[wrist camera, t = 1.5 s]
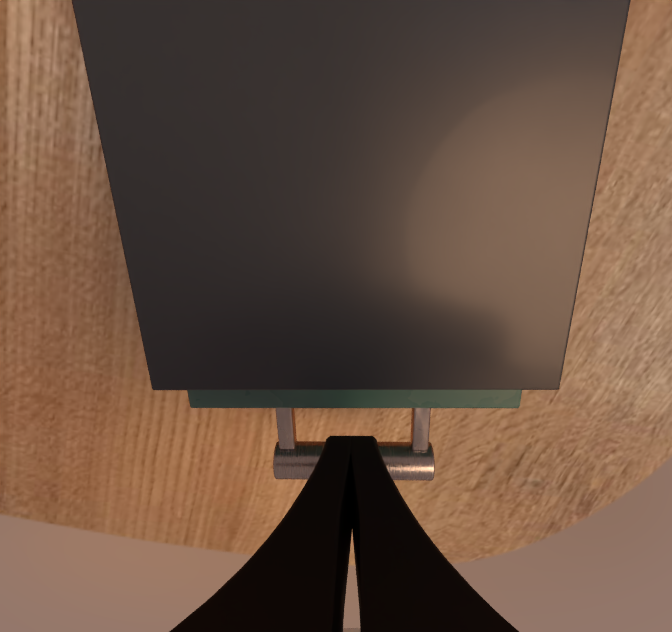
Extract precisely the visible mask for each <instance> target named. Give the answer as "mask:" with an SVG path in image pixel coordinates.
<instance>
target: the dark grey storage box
mask: <svg viewBox="0 0 672 632" xmlns="http://www.w3.org/2000/svg"><path fill="white" fill-rule="evenodd" d="M72 4H73V8H74V13H75V18H76V23H77V28H78V32H79V37H80V42H81V47H82V52H83V57H84V61H85V66H86V71H87V76H88V81H89V86H90V90H91V95H92V100H93V105H94V110H95V114H96V119H97V124H98V129H99V134H100V139H101V143H102V148H103V153H104V158H105V163H106V168H107V172H108V177H109V182H110V187H111V192H112V196H113V201H114V206H115V211H116V216H117V221H118V225H119V230H120V235H121V240H122V245H123V249H124V254H125V259H126V264H127V269H128V274H129V278H130V283H131V288H132V293H133V298H134V303H135V307H136V312H137V317H138V322H139V327H140V331H141V336H142V341H143V346H144V351H145V356H146V360H147V365H148V370H149V375H150V380H151V384H152V389H153V390H557V389H559V386H560V380H561V375H562V369H563V364H564V358H565V353H566V348H567V342H568V337H569V331H570V326H571V320H572V315H573V310H574V304H575V299H576V293H577V288H578V282H579V277H580V272H581V266H582V261H583V255H584V250H585V244H586V239H587V233H588V228H589V223H590V217H591V212H592V206H593V201H594V195H595V190H596V185H597V179H598V174H599V168H600V163H601V157H602V152H603V147H604V141H605V136H606V130H607V125H608V119H609V114H610V109H611V103H612V98H613V92H614V87H615V81H616V76H617V71H618V65H619V60H620V54H621V49H622V43H623V38H624V33H625V27H626V22H627V16H628V11H629V5H630V0H72Z"/></svg>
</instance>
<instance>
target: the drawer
mask: <svg viewBox="0 0 672 632" xmlns="http://www.w3.org/2000/svg"><path fill="white" fill-rule="evenodd" d="M187 391H188V397H189V402H190V407H191V408H276V417H277V428H278V439H279V441H278V442H277V443H276V446H275V450H274V460H273V469H274V476H275V478H276V479H309V477H310V475H311V473H312V472H313V470H314V468H315V466H316V464H317V462H318V460H319V458H320V455H321V453H322V451H323V448H324V446H325V443H326V442H321V441H296V440H297V439H296V425H295V411H294V408H412V417H411V442H377V444H378V448H379V451H380V453H381V456H382V458H383V461H384V463H385V465H386V467H387V470H388V472H389V474H390V476H391V478H392V479H393V480H433V478H434V471H435V465H434V453H433V448H432V445H431V443H430V442H429V427H430V411H431V408H519V406H520V400H521V393H522V390H187Z"/></svg>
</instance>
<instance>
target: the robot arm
mask: <svg viewBox="0 0 672 632" xmlns="http://www.w3.org/2000/svg"><path fill="white" fill-rule="evenodd" d="M352 531H353V542H354V553H355V564H356V575H357V586H358V597H359V608H360V626H361V632H519V631H518V630H516V629H515V628H514V627H513V626H512V625H511V624H510V623H508V622H507V621H506V620H505V619H504V618H503V617H502V616H501V615H499V613H497V612H496V611H495V610H494V609H493V608H492V607H491V606H490V605H489V604H488V603H487V602H486V601H485V600H484V599H483V598H482V597H481V596H480V595H479V594H478V593H477V592H476V591H475V590H474V589H473V588H472V587H471V586H470V585H469V584H468V582H467V581H466V580H465V579H464V578H463V577H462V576H461V575H460V574H459V573H458V571H457V570H456V569H455V568H454V567H453V566H452V565H451V564H450V563H449V562H448V560H447V559H446V558H445V557H444V556H443V554H442V553H441V552H440V551H439V549H438V548H437V547H436V546H435V544H434V543H433V542H432V541H431V539H430V538H429V536H428V535H427V534H426V532H425V531H424V530H423V528H422V527H421V526H420V524H419V523H418V521H417V520H416V518H415V517H414V515H413V514H412V512H411V511H410V509H409V507H408V506H407V504H406V503H405V501H404V499H403V498H402V496H401V494H400V492H399V491H398V489H397V487H396V485H395V483H394V481H393V479H392V478H391V476H390V474H389V472H388V470H387V467H386V465H385V463H384V461H383V458H382V456H381V453H380V451H379V448H378V444H377V440H376V439H375V438H374V437H373V436H330V437H328V438H327V439H326V443H325V446H324V448H323V451H322V453H321V455H320V458H319V460H318V462H317V464H316V466H315V468H314V470H313V472H312V473H311V475H310V477H309V479H308V481H307V482H306V484H305V486H304V488H303V489H302V491H301V493H300V494H299V496H298V497H297V499H296V500H295V502H294V503H293V505H292V506H291V508H290V510H289V511H288V512H287V514H286V515H285V517H284V518H283V519H282V521H281V522H280V523H279V525H278V526H277V527H276V529H275V530H274V531H273V532H272V534H271V535H270V536H269V538H268V539H267V540H266V541H265V542H264V543H263V545H262V546H261V547H260V548H259V549H258V550H257V551H256V553H255V554H254V555H253V556H252V557H251V558H250V559H249V561H248V562H247V563H246V564H245V565H244V566H243V567H242V568H241V569H240V570H239V571H238V572H237V573H236V574H235V575H234V576H233V577H232V578H231V579H230V580H228V581H227V582H226V583H225V584H224V585H223V586H222V587H221V588H220V589H219V590H218V591H217V592H216V593H215V594H214V595H213V596H212V597H211V598H210V599H208V600H207V601H206V602H205V603H204V604H203V605H201V606H200V607H199V608H198V609H196V611H194V612H193V613H192V614H190V615H189V616H188V617H187V618H186V619H184V620H183V621H182V622H181V623H180V624H178V625H177V626H176V627H175V628H173V630H171V631H170V632H343V618H344V604H345V594H346V583H347V574H348V564H349V554H350V544H351V534H352Z"/></svg>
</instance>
